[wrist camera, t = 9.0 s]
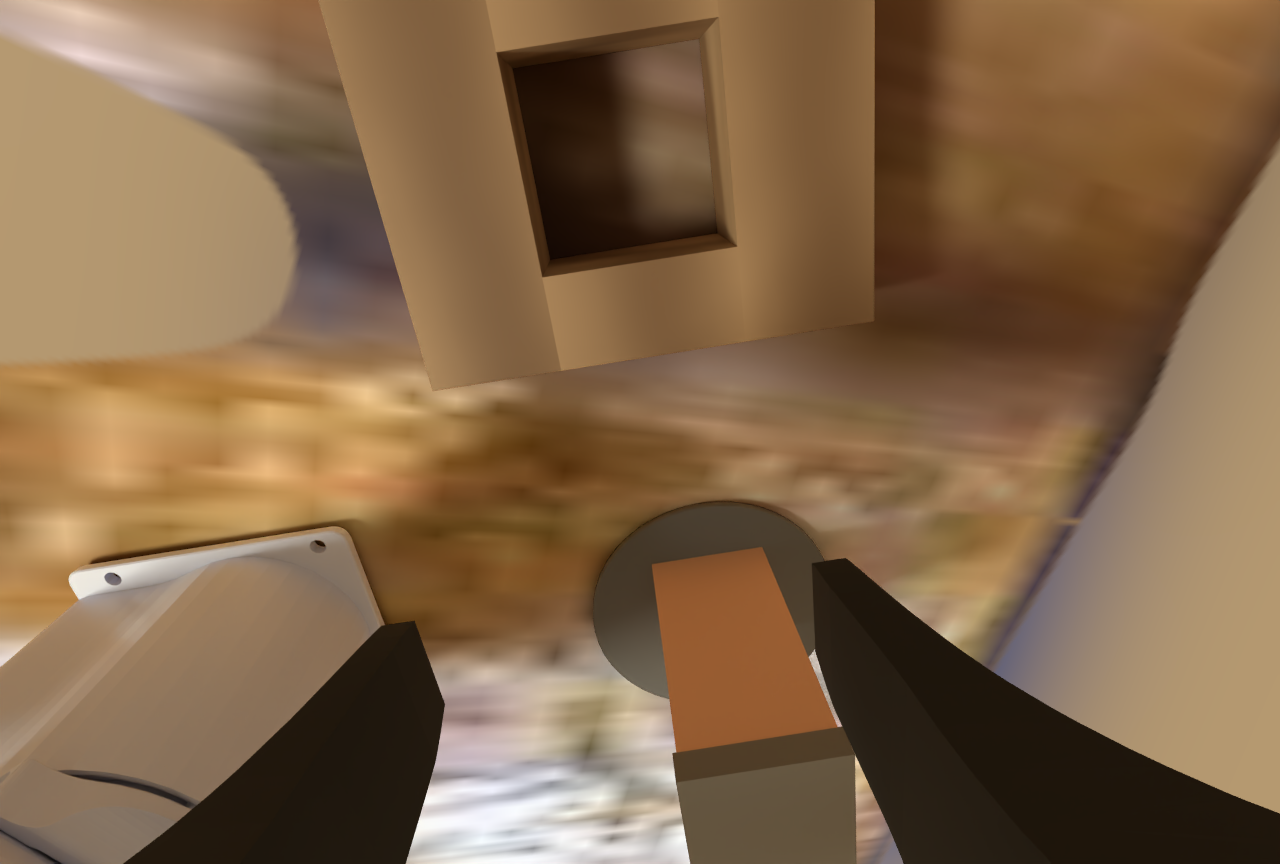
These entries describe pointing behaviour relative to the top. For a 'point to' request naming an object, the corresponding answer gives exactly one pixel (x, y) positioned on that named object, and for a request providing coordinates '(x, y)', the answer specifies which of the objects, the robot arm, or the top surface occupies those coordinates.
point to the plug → (750, 720)
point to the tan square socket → (634, 276)
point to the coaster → (683, 534)
